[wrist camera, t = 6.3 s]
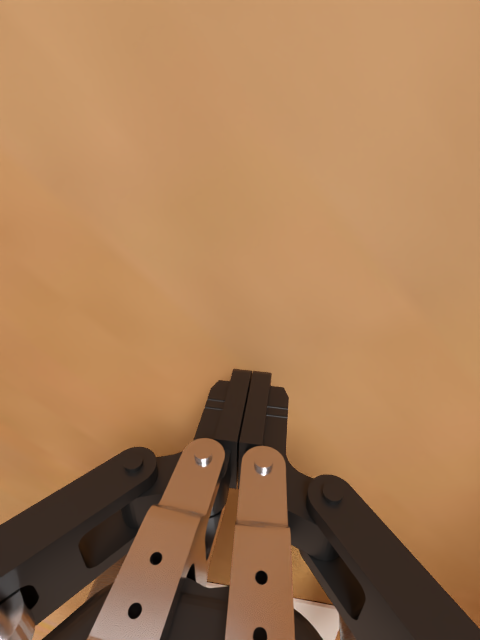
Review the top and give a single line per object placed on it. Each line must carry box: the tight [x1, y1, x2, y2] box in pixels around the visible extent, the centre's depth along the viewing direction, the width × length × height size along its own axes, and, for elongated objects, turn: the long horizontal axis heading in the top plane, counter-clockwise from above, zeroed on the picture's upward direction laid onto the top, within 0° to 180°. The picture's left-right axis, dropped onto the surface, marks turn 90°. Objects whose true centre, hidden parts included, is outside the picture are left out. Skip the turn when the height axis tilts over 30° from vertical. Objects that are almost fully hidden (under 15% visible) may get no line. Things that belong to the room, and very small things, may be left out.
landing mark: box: [206, 582, 339, 640], centre depth 29 cm, size 14×14×1 cm
